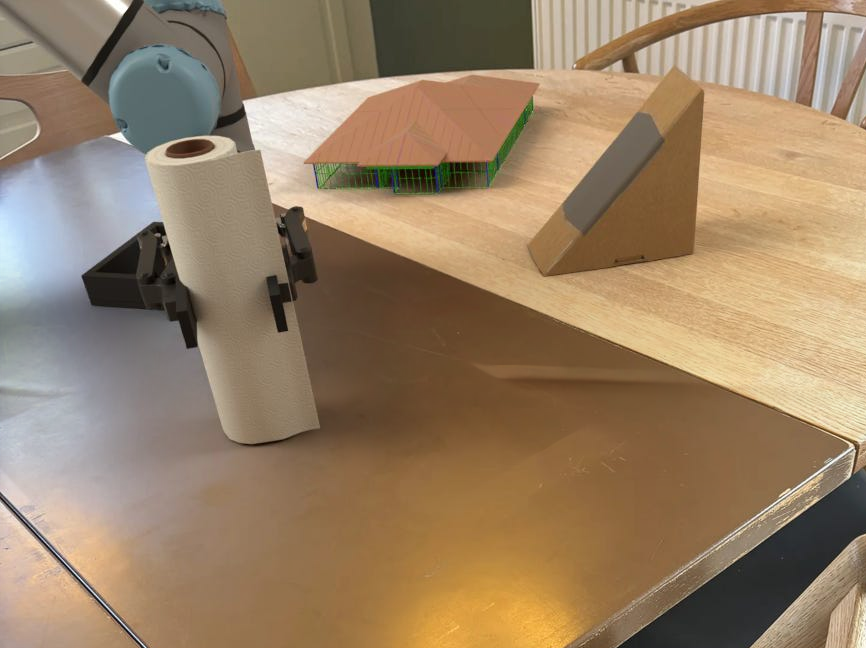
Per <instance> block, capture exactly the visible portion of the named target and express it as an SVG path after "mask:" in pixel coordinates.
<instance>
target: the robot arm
mask: <svg viewBox="0 0 866 648" xmlns="http://www.w3.org/2000/svg"><path fill="white" fill-rule="evenodd" d="M0 16H1V17H2V18H3V19H4V20H6V22H8V23H9V24H10V25H12V26H13V27H14V28H16V29H17V30H18V31H19V32H20V33H21V34H23V35H24V36H25V37H26V38H28V39H29V40H30V41H31V42H33V43H34V44H35V45H36V46H37V47H39V48H40V49H41V50H42V51H43V52H45V53H46V55H49V57H50V58H52V59H53V60H54V61H55V62H56V63H58V64H59V65H60V66H62V67H63V68H64V69H65V70H67V71H68V72H69V73H70V74H71V75H72V76H74V77H75V78H76V79H77V80H79V81H80V82H81V83H82V84H83V85H85V86H86V87H87V88H88V89H89V90H91V91H92V92H93V93H94V94H95V95H96V96H98V97H99V98H100V99H101V100H102V101H104V103H106V104H107V105H108V106H109V108H110V112H111V115H112V118H113V121H114V123H115V125H116V127H117V128H118V130H119V131H120V133H121V134H122V136H123V137H124V139H125V140H126V141H127V142H128V143H129V144H130V145H131V146H132V147H134V148H135V149H136V150H138V151H139V152H141V153H142V154H144V155H145V156H146V155H147V153H148V152H149V151H151V150H152V149H154V148H155V147H157V146H160V145H162V144H165V143H167V142H170V141H175V140H179V139H183V138H189V137H197V136H221V137H226V138H230V139H231V140H232V141H234V142H235V144H236V149H237V153H242V152H246V151H252V150H256V147H255V144H254V142H253V139H252V135H251V128H250V125H249V124H250V123H249V119H248V114H247V111H246V107H245V104H244V101H243V97H242V91H241V87H240V82H239V78H238V72H237V67H236V63H235V57H234V53H233V48H232V43H231V38H230V33H229V28H228V24H227V20H228V16H227V13H226V11H225V10H224V7H223V3H222V0H0ZM275 220H276V225H277V229H278V234H279V237H280V238H282V239H284V242H285V243H284V244H281V248H282V253H283V257H284V262H285V267H286V271H287V276H288V281H289V285H288V283H281V284H278V279H277V275H273V276H269V277H266V279H267V285H268V291H269V296H270V301H271V305H272V309H273V314H274V318H275V322H276V327H277V331H278V333H280V332H286V331H288V326H287V321H286V316H285V311H284V306H283V303H286V302H291V301H292V300H293V302H296V301H297V300H298V298H299V296H298V292H297V286H296V284H297V283H298V282H300V281H301V282H302V283H303V284H314V283H316V282H317V281H319V278H318V273H317V268H316V263H315V258H314V252H313V247H312V244H311V242H310V240H309V239H310V237H309V231H308V225H307V221H306V216H305V212H304V207H303V206H297V205H295V206H292V207H289V209H288V210H287V212H284V213H283V212H282V213H280V215H279V217H275ZM142 230H143V229H142ZM142 230H140V231H141V232H140V231H139V232H137V233H136V234H135V235H137V238H138V242H139V245H140V248H141V252H140V257H139V262H138V268H137V273H136V279H137V282H138V285H139V288H140V292H141V295H142V298H143V301H144V304H145V307H146V309H145V310H147V311H155V310H158V308H160V307H161V306H162V303H163V306H164V309H165V310H164V312H165V316H166V318H167V321H169V322H170V323H172V322H177V321H178V323H179V327H180V331H181V334H182V337H183V340H184V343H185V347H186V350H189V349H194V348H199V345H198V341H197V321H196V318H195V314H194V311H193V307H192V304H191V300H190V297H189V293H188V290H187V286H185V285H184V284H183V283H182V282H181V281H180V279H179V275H178V272H177V269H176V265H175V262H174V258H172V260H171V261H170V263H169V259H168V256H170V255H171V248H170V244H169V241H168V237H167V235H166V236H162V235H161V234H160V233H157V234H153V233H152V232H151V231H147V230H143V231H142ZM288 246H289V249H290V252H291V256H290V255H289V250H288ZM166 265H167V267H165V266H166ZM289 286H290V290H289ZM290 291H291V295H292V300H291V295H290Z"/></svg>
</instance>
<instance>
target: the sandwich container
mask: <svg viewBox="0 0 866 648" xmlns="http://www.w3.org/2000/svg"><path fill="white" fill-rule="evenodd" d="M704 103H705V90H704V89H703V88H702V87H701V86H700V85H699V84H698V83H696V82H695V81H694V80H693V79H692V78H691V77H690V76H689V75H687V73H685V72H684V71H683V70H682V69H681V68H680V67H678V66H677V65H676V64H674V65H673V66H672V67H671V68H670V69H669V71H668V72H667V73H666V75H665V76H664V77H663V78H662V79H661V81H660V82H659V83H658V85H657V86H656V87H655V89H654V90H653V91H652V92H651V94H650V95H649V96H648V97H647V98H646V100H645V101H644V103H643V104H642V105H641V106H640V108H639V109H638V110H637V112H635V113H634V115H633V116H632V118H631V119H630V120H629V121H628V122H627V124H626V125H625V126H624V128H622V130H621V131H620V132H619V134H618V135H617V136H616V138H615V139H614V140H613V141H612V142H611V143H610V145H609V146H608V147H607V149H606V150H604V152H603V153H602V154H601V156H600V157H599V158H598V159H597V160H596V162H595V163H594V164H593V165H592V166H591V168H590V169H589V170H588V172H587V173H586V174H585V175H584V176H583V178H582V179H581V180H580V181H579V183H577V185H576V186H575V187H574V188H573V189H572V191H571V192H570V193H569V195H568V196H567V197H566V198H565V200H564V201H562V203H561V204H560V206H559V207H558V208H557V209H556V210H555V211H554V213H553V214H552V215H551V216H550V217H549V218H548V220H546V222H545V223H544V224H543V226H542V227H541V228H539V230H538V231H537V233H536V234H535V235H534V236H533V238H532V239H531V240H530V241H529V242H528V243H527V248H528V250H529V253H530V255H531V259H532V260H533V262H534V263H535V264H536V266H537V268H538V269H539V270H540V272H541V274H542V275H543V276H544V277H547V276H548V277H549V276H555V275H563V274H569V273H577V272H584V271H592V270H599V269H605V268H613V267H618V266H622V265H630V264H638V263H642V262H651V261H652V262H653V261H656V260H657V261H658V260H662V259H663V260H664V259H670V258H675V257H680V256H686V255H692V254H694V253H695V239H696V225H697V211H698V198H699V197H698V194H699V182H700V181H699V179H700V166H701V165H700V164H701V152H702V151H701V150H702V137H703V135H702V134H703V119H704V106H705V105H704Z"/></svg>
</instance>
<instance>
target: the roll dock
mask: <svg viewBox="0 0 866 648" xmlns="http://www.w3.org/2000/svg"><path fill="white" fill-rule="evenodd" d="M143 230H147V231H151V232H152V233H153V234H157V233H160V234H161V235H162V236H166V235H167V234H166V230H165V227H164V224H163V221H152V222H151V223H150V224H148V225H147V226H145V227H144V228H142V230H140V231H139V232H141V231H143ZM140 252H141V248H140V245H139V242H138V238H137V235H136V234H135V235H133V236H132V237H131V238H129V239H128V240H127V241H125V242H124V243H123V244H122V245H119V247H117V248H116V249H115V250H113V251H112V252H111V253H109V254H108V255H107V256H106V257H104V258H103V259H101V260H100V261H98V262H97V263H96V264H94V265H93V266H92V267H90V268H89V269H87V271H85V272H84V273H82V274H81V276H80V277H81V280H82V282H83V285H84V288H85V291H86V294H87V297H88V300H89V303H90V305H91V306H100V307H115V308H128V309H129V308H130V309H145V310H147V309H146V307H145V304H144V301H143V298H142V295H141V292H140V288H139V285H138V282H137V279H136V273H137V268H138V262H139V257H140ZM172 258H173V255H172V251H171V255H170V256H168V259H169V263H170V261H171V260H172ZM165 267H167V265H166V266H165ZM157 310H161V311H165V309H164V306H163V303H162V306H161V307H160V308H158V309H157Z"/></svg>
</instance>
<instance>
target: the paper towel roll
mask: <svg viewBox="0 0 866 648" xmlns="http://www.w3.org/2000/svg"><path fill="white" fill-rule="evenodd" d="M144 161H145V164H146V168H147V171H148V175H149V178H150V182H151V185H152V189H153V192H154V195H155V199H156V202H157V206H158V210H159V214H160V216H161V220H162V222H163V224H164V227H165V230H166V234H167V237H168V241H169V244H170V248H171V251H172V255H173V258H174V262H175V265H176V269H177V272H178V275H179V279H180V281H181V282H182V283H183V284H184V285H185V286H187V290H188V293H189V297H190V300H191V304H192V307H193V311H194V314H195V318H196V321H197V341H198V348H199V351H200V355H201V358H202V362H203V365H204V369H205V372H206V375H207V376H206V377H207V379H208V383H209V386H210V390H211V394H212V397H213V401H214V403H215V407H216V410H217V415H218V418H219V420H220V424H221V428H222V431H223V432H224V434H225V435H226V436H227V438H228V439H229V440H231V441H232V442H233V441H234V442H236V443H238V444H247V445H254V444H255V445H257V444H263V443H269V442H275V441H280V440H285V439H287V438H290V437H292V436H295V435H297V434H299V433H303V432H306V431H311V430H319V429H321V426H320V421H319V416H318V412H317V408H316V407H317V406H316V402H315V399H314V394H313V389H312V384H311V379H310V374H309V370H308V366H307V360H306V356H305V350H304V347H303V346H304V345H303V342H302V338H301V332H300V328H299V324H298V318H297V314H296V309H295V304H294V301H293V300H292V295H291V291H290V295H291V300H292V301H291V302H286V303H283V306H284V311H285V316H286V321H287V326H288V331H286V332H280V333H278V331H277V327H276V322H275V318H274V314H273V309H272V305H271V301H270V296H269V291H268V285H267V279H266V277H269V276H273V275H277V279H278V284H281V283H288V285H289V281H288V276H287V271H286V267H285V262H284V257H283V253H282V248H281V245H282V243H281V240H280V234H278V229H277V225H276V220H275V218H276V216H275V215H276V214H275V212H274V206H273V202H272V201H273V200H272V198H271V193H270V187H269V183H268V178H267V173H266V169H265V165H264V164H265V163H264V160H263V155H262V151H261V149H255V150H252V151H246V152H242V153H237V149H236V144H235V142H234V141H232V140H231V139H230V138H226V137H221V136H197V137H189V138H183V139H179V140H175V141H170V142H167V143H165V144H162V145H160V146H157V147H155V148H154V149H152V150H151V151H149V152H148V153H147V155H146V154H145V157H144ZM289 290H290V286H289Z"/></svg>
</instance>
